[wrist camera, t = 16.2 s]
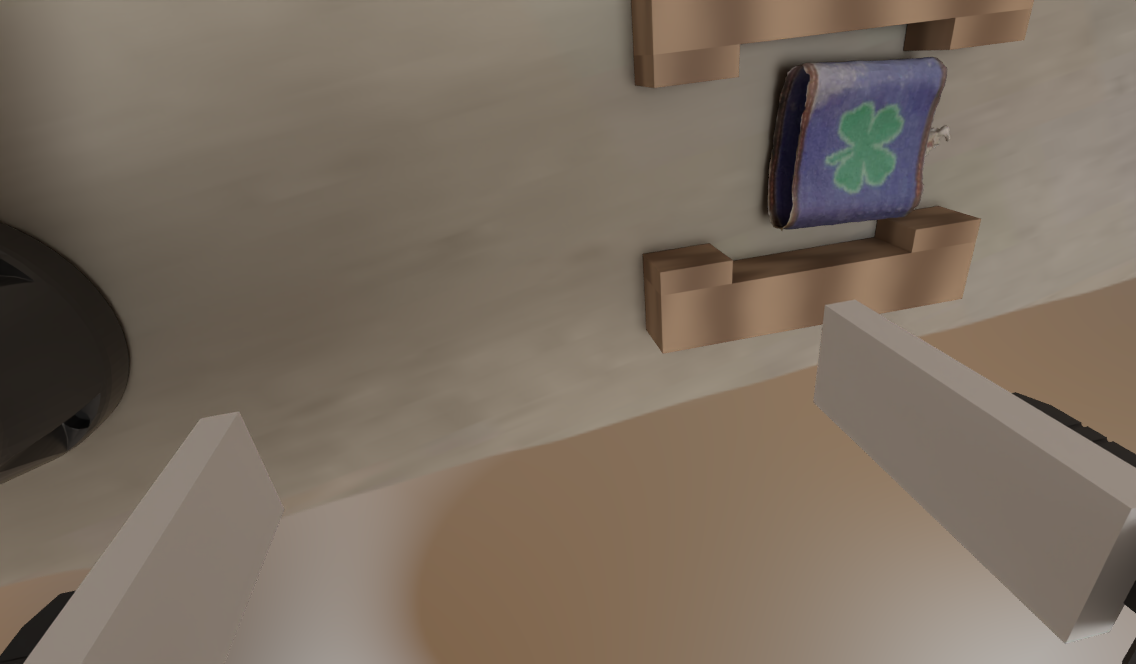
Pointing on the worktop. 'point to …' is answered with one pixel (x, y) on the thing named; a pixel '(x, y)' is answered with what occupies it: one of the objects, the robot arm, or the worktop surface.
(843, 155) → the flask
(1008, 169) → the worktop surface
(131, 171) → the worktop surface
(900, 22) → the holder
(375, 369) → the worktop surface
